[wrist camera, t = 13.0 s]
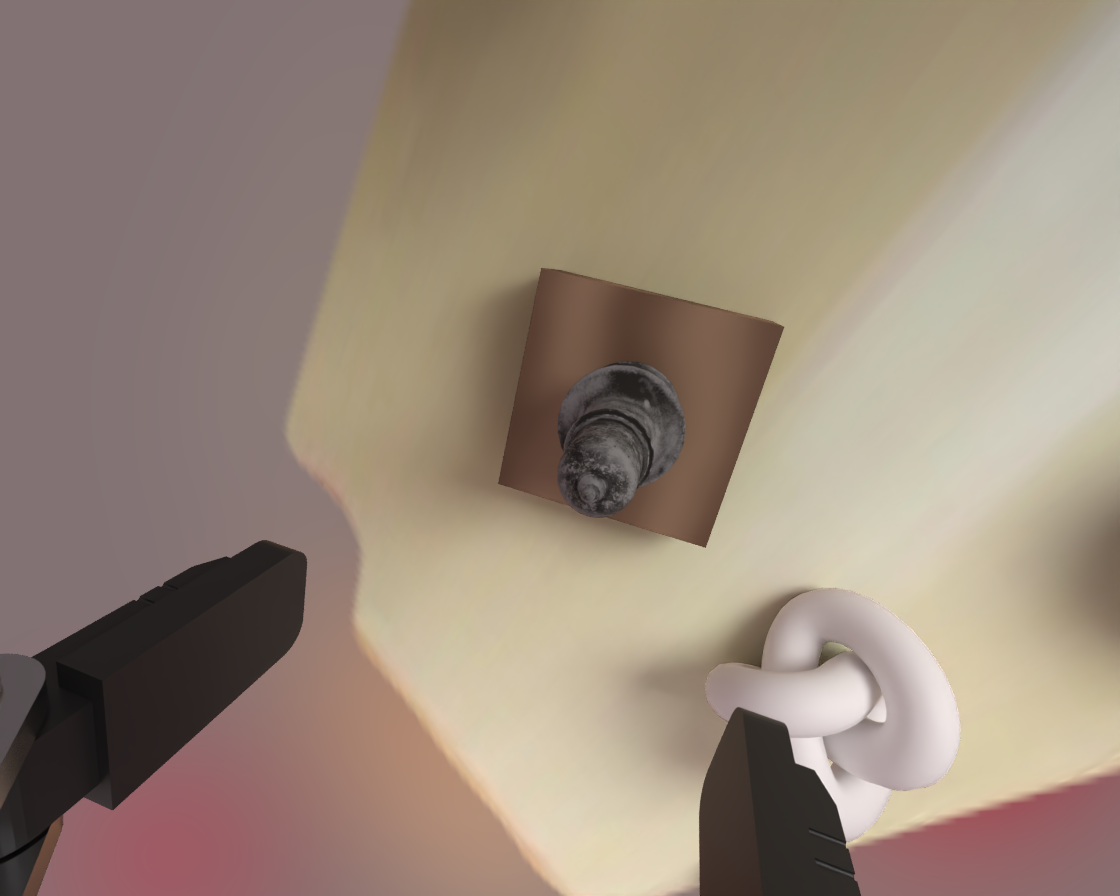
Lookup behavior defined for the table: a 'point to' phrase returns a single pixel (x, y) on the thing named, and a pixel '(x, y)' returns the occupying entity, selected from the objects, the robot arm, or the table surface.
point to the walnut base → (668, 346)
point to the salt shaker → (617, 436)
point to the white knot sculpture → (849, 700)
